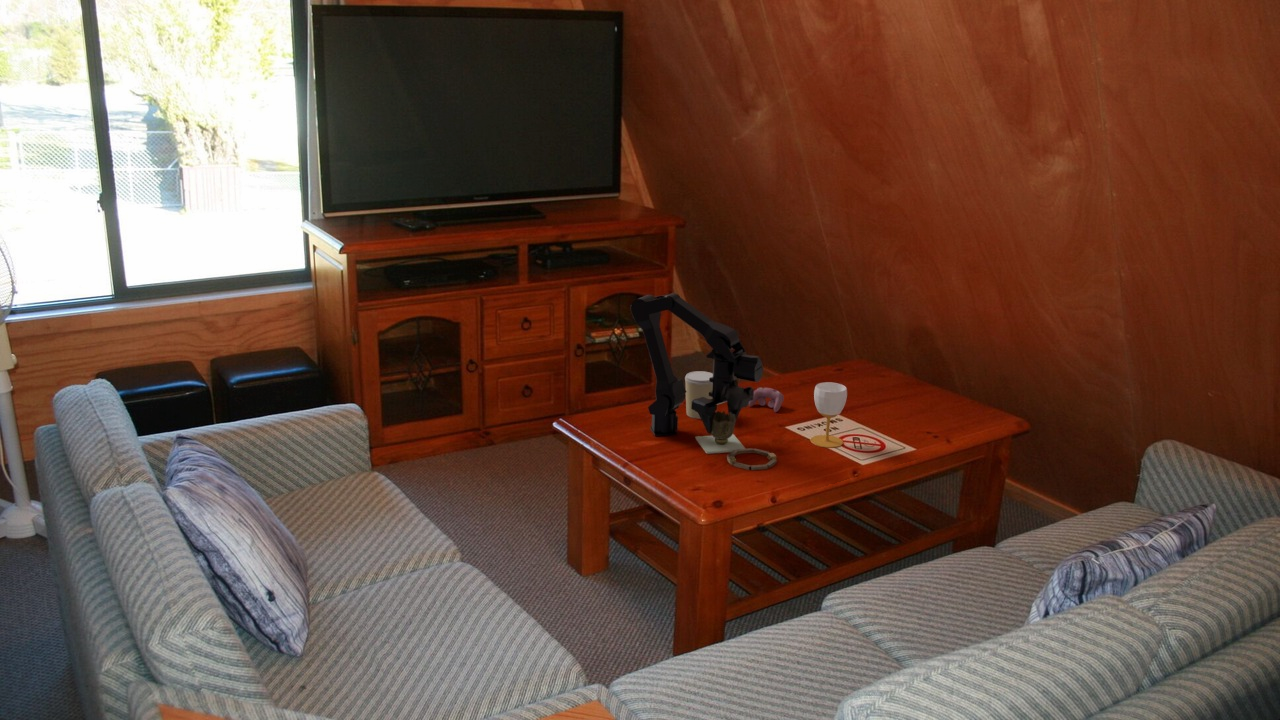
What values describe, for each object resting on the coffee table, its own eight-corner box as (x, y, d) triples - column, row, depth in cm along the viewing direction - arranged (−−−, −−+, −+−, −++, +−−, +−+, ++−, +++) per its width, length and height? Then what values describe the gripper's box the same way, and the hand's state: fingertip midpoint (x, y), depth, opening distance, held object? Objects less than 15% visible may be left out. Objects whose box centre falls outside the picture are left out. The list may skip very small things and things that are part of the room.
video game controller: (781, 414, 315) (787, 392, 315) (776, 412, 311) (782, 389, 312) (752, 408, 320) (757, 386, 320) (746, 405, 316) (752, 383, 316)
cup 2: (835, 434, 296) (840, 381, 291) (848, 446, 287) (853, 391, 282) (805, 436, 294) (809, 382, 289) (817, 448, 285) (821, 393, 280)
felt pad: (706, 453, 280) (706, 451, 280) (695, 438, 291) (695, 436, 290) (745, 450, 283) (745, 448, 283) (733, 436, 293) (733, 434, 293)
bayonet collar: (735, 471, 269) (736, 467, 269) (721, 453, 281) (721, 448, 281) (782, 467, 272) (783, 463, 272) (766, 449, 284) (766, 445, 283)
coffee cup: (708, 407, 315) (709, 369, 311) (720, 418, 306) (721, 379, 303) (679, 410, 312) (680, 372, 308) (690, 421, 303) (691, 382, 300)
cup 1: (703, 444, 285) (704, 417, 282) (714, 436, 291) (715, 409, 289) (728, 449, 282) (729, 421, 279) (738, 441, 288) (740, 413, 285)
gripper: (722, 390, 269) (719, 446, 274) (769, 375, 281) (765, 429, 286) (691, 379, 277) (688, 434, 281) (738, 365, 289) (735, 418, 294)
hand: (720, 429), depth 285 cm, fingers open, 9 cm apart
